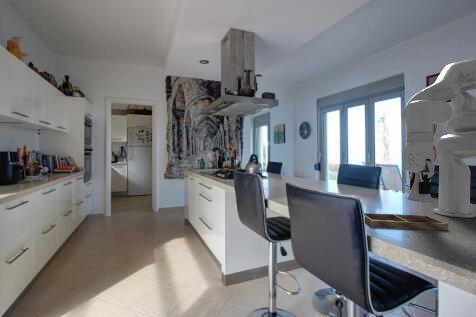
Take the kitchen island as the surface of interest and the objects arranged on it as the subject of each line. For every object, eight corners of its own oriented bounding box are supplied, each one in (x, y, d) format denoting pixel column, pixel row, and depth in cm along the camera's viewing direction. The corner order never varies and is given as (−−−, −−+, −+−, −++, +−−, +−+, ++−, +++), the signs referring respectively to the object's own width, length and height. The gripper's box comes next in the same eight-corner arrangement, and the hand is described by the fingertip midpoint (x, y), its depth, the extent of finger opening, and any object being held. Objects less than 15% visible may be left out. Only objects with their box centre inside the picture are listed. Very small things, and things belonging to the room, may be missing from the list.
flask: (437, 203, 84) (437, 172, 84) (412, 202, 85) (412, 172, 85) (426, 198, 91) (426, 170, 91) (403, 198, 92) (403, 170, 92)
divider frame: (427, 220, 93) (427, 215, 93) (448, 230, 81) (448, 223, 81) (360, 218, 96) (360, 212, 96) (371, 226, 85) (371, 220, 85)
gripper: (396, 139, 96) (396, 188, 97) (421, 137, 80) (421, 197, 80) (418, 138, 95) (418, 188, 96) (448, 137, 78) (448, 197, 79)
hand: (419, 191), depth 88 cm, fingers closed on flask, 4 cm apart
